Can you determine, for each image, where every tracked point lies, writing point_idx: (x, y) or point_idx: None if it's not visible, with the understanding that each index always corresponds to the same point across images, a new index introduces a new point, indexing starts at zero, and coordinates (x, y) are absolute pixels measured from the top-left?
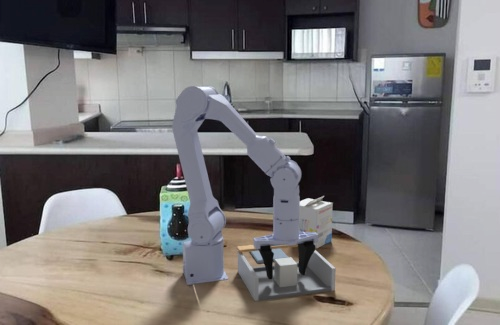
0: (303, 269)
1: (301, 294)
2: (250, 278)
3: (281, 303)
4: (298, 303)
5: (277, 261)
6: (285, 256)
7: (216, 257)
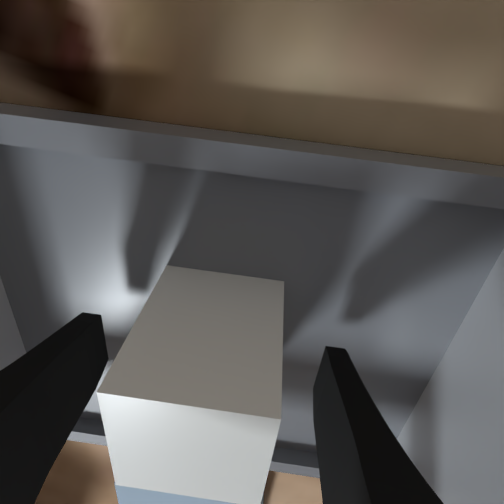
0: (67, 341)
1: (187, 131)
2: None
3: (383, 92)
4: (257, 34)
5: (259, 477)
6: (125, 489)
7: None
